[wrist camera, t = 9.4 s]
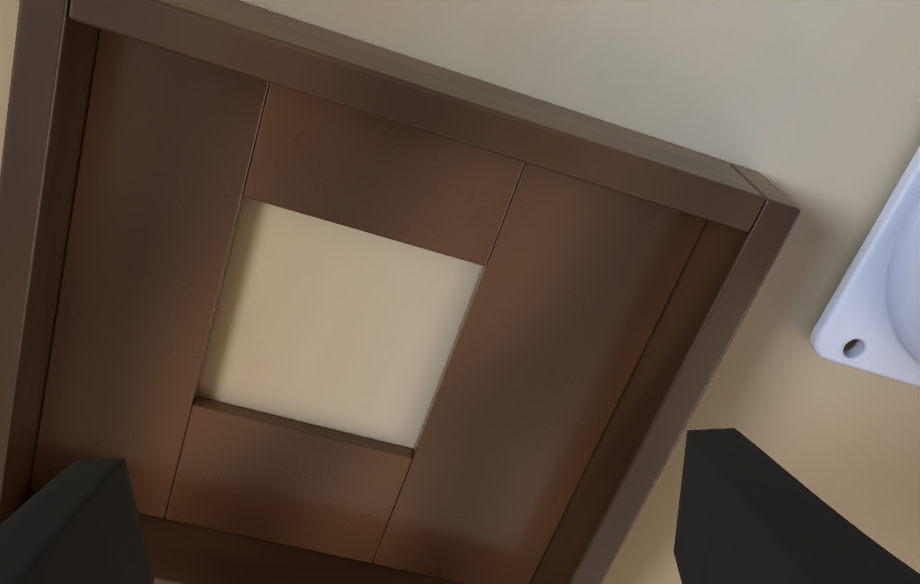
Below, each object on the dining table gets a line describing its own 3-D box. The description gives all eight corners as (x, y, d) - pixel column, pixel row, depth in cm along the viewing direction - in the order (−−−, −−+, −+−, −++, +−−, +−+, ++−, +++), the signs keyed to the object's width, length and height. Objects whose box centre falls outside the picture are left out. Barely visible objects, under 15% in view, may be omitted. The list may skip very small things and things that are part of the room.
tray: (760, 172, 19) (803, 210, 17) (538, 611, 25) (549, 681, 23) (73, -55, 17) (22, -44, 15) (-1, 496, 22) (-46, 564, 20)
